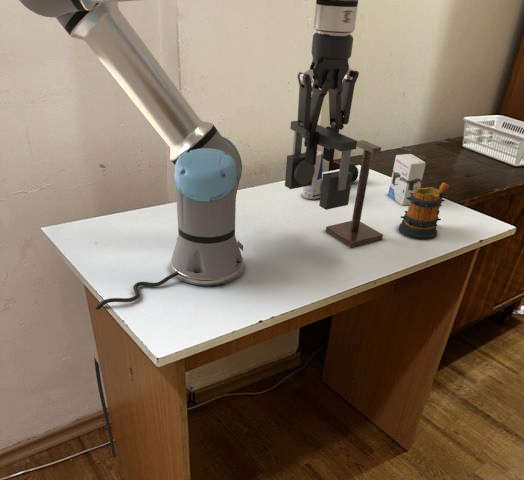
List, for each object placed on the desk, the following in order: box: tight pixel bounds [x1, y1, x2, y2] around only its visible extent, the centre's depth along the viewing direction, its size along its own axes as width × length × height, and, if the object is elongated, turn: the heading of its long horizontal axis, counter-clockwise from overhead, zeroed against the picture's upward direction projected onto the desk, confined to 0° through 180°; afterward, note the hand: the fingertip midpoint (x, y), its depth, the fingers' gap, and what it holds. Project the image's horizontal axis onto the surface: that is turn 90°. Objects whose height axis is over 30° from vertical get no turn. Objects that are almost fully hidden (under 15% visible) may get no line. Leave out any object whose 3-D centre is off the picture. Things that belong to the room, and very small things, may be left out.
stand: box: [325, 139, 384, 248], centre depth 120 cm, size 10×10×22 cm
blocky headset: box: [284, 120, 358, 211], centre depth 109 cm, size 6×17×14 cm, turn 32°
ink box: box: [387, 153, 427, 206], centre depth 144 cm, size 8×5×12 cm, turn 17°
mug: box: [397, 182, 450, 241], centre depth 128 cm, size 13×10×12 cm
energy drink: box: [302, 150, 324, 200], centre depth 142 cm, size 5×5×12 cm
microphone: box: [348, 163, 359, 184], centre depth 151 cm, size 6×6×20 cm
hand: (319, 161), depth 108 cm, fingers closed on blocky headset, 4 cm apart
